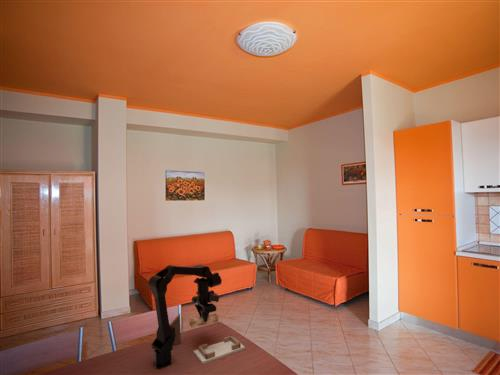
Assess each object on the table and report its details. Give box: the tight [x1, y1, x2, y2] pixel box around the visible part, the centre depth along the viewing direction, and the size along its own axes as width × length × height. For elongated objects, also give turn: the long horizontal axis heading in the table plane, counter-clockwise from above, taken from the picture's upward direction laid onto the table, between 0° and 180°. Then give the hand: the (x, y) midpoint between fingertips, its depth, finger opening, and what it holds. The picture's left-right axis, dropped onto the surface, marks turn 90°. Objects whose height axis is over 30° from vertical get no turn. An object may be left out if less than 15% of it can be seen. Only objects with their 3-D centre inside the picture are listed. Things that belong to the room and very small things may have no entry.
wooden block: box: [169, 313, 182, 345], centre depth 151 cm, size 4×11×18 cm, turn 96°
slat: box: [189, 313, 219, 328], centre depth 150 cm, size 14×4×3 cm, turn 114°
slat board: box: [193, 335, 246, 365], centre depth 142 cm, size 22×11×3 cm, turn 122°
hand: (204, 320), depth 150 cm, fingers closed on slat, 4 cm apart
